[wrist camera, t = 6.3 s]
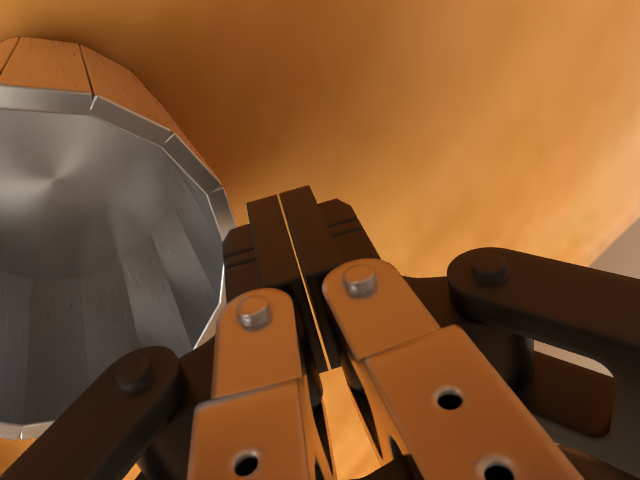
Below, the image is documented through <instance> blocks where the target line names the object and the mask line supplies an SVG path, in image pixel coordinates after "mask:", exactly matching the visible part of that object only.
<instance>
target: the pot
mask: <svg viewBox="0 0 640 480" xmlns="http://www.w3.org/2000/svg"><path fill="white" fill-rule="evenodd" d="M233 228H237V225H236V222H235V219H234V215H233V212H232V209H231V206H230V203H229V200H228V197H227V194H226V191H225V188H224V186H223V185H222V183H221V181H220V180H219V179H218V177H217V176H216V175H215V173H214V172H213V171H212V170H211V168H210V167H209V166H208V164H207V163H206V162H205V160H204V159H203V158H202V157H201V155H200V154H199V153H198V151H197V150H196V149H195V147H194V146H193V145H192V144H191V142H190V141H189V140H188V138H187V137H186V136H185V134H184V133H183V132H182V131H181V129H180V128H179V127H178V125H177V124H176V123H175V122H174V120H173V119H172V118H171V116H170V115H169V114H168V112H167V111H166V110H165V109H164V107H163V106H162V105H161V104H160V103H159V102H158V100H157V99H156V98H155V97H154V96H153V95H152V94H151V93H150V92H149V90H148V89H147V88H146V87H145V86H144V85H143V84H142V83H141V81H140V80H139V79H138V78H137V77H136V76H135V75H134V74H133V73H132V72H131V71H129V70H128V68H126V67H124V66H122V65H120V64H118V63H116V62H114V61H112V60H110V59H108V58H106V57H104V56H103V55H101V54H99V53H97V52H95V51H93V50H91V49H89V48H87V47H85V46H83V45H80V46H79V45H78V44H77V43H71V42H63V41H55V40H47V39H39V38H31V37H21V39H20V37H14V38H11V39H7V40H3V41H0V438H1V439H10V440H18V439H19V437H20V438H21V440H26V439H32V438H38V437H40V436H41V435H42V434H43V433H44V432H45V431H46V430H47V429H48V428H49V427H50V426H51V425H52V424H53V423H54V422H55V421H56V420H57V418H58V417H59V416H60V415H61V414H62V413H63V412H64V411H65V410H66V409H67V408H68V407H69V406H70V405H71V404H72V403H73V402H74V401H75V400H76V399H77V398H78V397H79V396H80V395H81V394H82V393H83V392H84V391H85V390H86V389H87V388H88V387H89V386H90V385H91V384H92V383H93V382H94V381H95V380H96V379H97V378H98V377H99V376H100V375H101V374H102V373H103V372H104V371H105V370H106V369H107V368H108V367H109V366H110V365H111V364H112V363H114V362H115V361H116V360H118V359H119V358H121V357H122V356H124V355H126V354H128V353H130V352H132V351H134V350H137V349H140V348H144V347H149V346H163V347H167V348H169V349H171V350H172V351H173V352H174V353H175V354H176V356H177V358H179V357H181V356H183V355H185V354H186V353H188V352H190V351H192V350H194V349H196V348H197V347H199V346H201V345H202V344H204V343H205V342H207V341H208V340H209V339H211V338H212V337H213V336H214V335H215V333H216V321H217V317H218V315H219V313H220V311H221V310H222V309H223V308H224V306H225V305H226V304H227V303H226V290H225V277H224V263H223V259H224V258H223V250H222V242H223V241H224V239H225V237H226V236H227V234H228V232H229V230H230V229H233Z"/></svg>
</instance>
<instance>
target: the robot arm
mask: <svg viewBox="0 0 640 480" xmlns="http://www.w3.org/2000/svg"><path fill="white" fill-rule="evenodd" d="M279 195H280V199H281V203H282V206H283V210H284V213H285V216H286V220H287V223H288V227H289V230H290V234H291V237H292V241H293V244H294V248H295V251H296V255H297V258H298V261H299V265H300V268H301V271H302V275H303V278H304V281H305V285H306V288H307V291H308V294H309V298H310V301H311V304H312V307H313V310H314V314H315V317H316V320H317V323H318V327H319V330H320V333H321V336H322V340H323V343H324V346H325V349H326V353H327V356H328V359H329V362H330V366H331V369H334V368H337V367H341V366H342V369H343V372H344V375H345V378H346V381H347V385H348V388H349V392H350V396H351V399H352V401H353V404H354V406H355V408H356V411H357V413H358V415H359V417H360V420H361V422H362V424H363V426H364V429H365V431H366V433H367V435H368V438H369V440H370V442H371V445H372V447H373V449H374V451H375V454H376V456H377V458H378V460H379V463H380V465H381V468H379V469H377V470H376V471H374V472H373V473H371V474H369V475H367V476H365V477H363V478H360V479H351V480H640V279H636V278H631V277H627V276H623V275H618V274H614V273H610V272H605V271H601V270H596V269H592V268H588V267H584V266H579V265H575V264H571V263H566V262H562V261H557V260H553V259H549V258H544V257H540V256H535V255H531V254H527V253H522V252H518V251H514V250H509V249H504V248H496V247H486V248H478V249H474V250H470V251H467V252H465V253H463V254H461V255H459V256H458V257H456V258H455V259H454V260H453V261H452V262H451V263H450V265H449V266H448V269H447V276H446V277H433V278H411V277H405V276H402V275H400V273H399V272H398V271H397V269H396V268H395V267H394V266H393V265H391V264H390V263H388V262H386V261H383V260H381V258H380V257H379V255H378V253H377V251H376V250H375V248H374V246H373V244H372V243H371V241H370V239H369V237H368V236H367V234H366V232H365V230H364V229H363V227H362V225H361V223H360V221H359V220H358V219H357V216H356V214H355V213H354V211H353V209H352V207H351V206H350V205H348V204H346V203H344V202H342V201H340V200H338V199H333V200H330V201H326V202H323V203H319V204H317V202H316V200H315V197H314V195H313V193H312V191H311V188H310V186H309V185H307V186H304V187H300V188H297V189H293V190H290V191H286V192H283V193H279ZM246 204H247V210H248V216H249V221H250V224H247V225H244V226H240V227H237V228H233V229H230V230H229V232H228V234H227V236H226V237H225V239H224V241H223V242H222V250H223V258H224V259H223V263H224V277H225V290H226V303H227V304H226V305H225V306H224V308H223V309H222V310H221V311H220V313H219V315H218V317H217V321H216V333H215V335H214V336H213V337H212V338H211V339H209V340H208V341H207V342H205V343H204V344H202V345H201V346H199V347H197V348H196V349H194V350H192V351H190V352H188V353H186V354H185V355H183V356H181V357H179V358H177V356H176V354H175V353H174V352H173V351H172V350H171V349H169V348H167V347H163V346H149V347H144V348H140V349H137V350H134V351H132V352H130V353H128V354H126V355H124V356H122V357H121V358H119V359H118V360H116V361H115V362H114V363H112V364H111V365H110V366H109V367H108V368H107V369H106V370H105V371H104V372H103V373H102V374H101V375H100V376H99V377H98V378H97V379H96V380H95V381H94V382H93V383H92V384H91V385H90V386H89V387H88V388H87V389H86V390H85V391H84V392H83V393H82V394H81V395H80V396H79V397H78V398H77V399H76V400H75V401H74V402H73V403H72V404H71V405H70V406H69V407H68V408H67V409H66V410H65V411H64V412H63V413H62V414H61V415H60V416H59V417H58V418H57V420H56V421H55V422H54V423H53V424H52V425H51V426H50V427H49V428H48V429H47V430H46V431H45V432H44V433H43V434H42V435H41V436H40V437H39V438H38V439H37V440H36V441H35V442H34V443H33V444H32V445H31V446H30V447H29V448H28V449H27V450H26V451H25V452H24V453H23V454H22V455H21V456H20V457H19V458H18V459H17V460H16V461H15V462H14V463H13V464H12V465H11V466H10V467H9V468H8V469H7V470H6V471H5V472H4V473H3V474H2V475H1V476H0V480H122V479H123V478H124V477H125V476H126V474H127V473H128V472H129V471H130V469H131V468H132V467H133V466H134V464H135V463H137V465H138V466H139V468H140V469H141V472H140V474H139V475H138V476H137V478H136V479H135V480H337V474H336V469H335V463H334V457H333V451H332V445H331V439H330V433H329V427H328V421H327V415H326V409H325V405H324V402H323V399H322V395H323V388H322V383H321V380H320V376H319V373H322V372H325V371H328V367H327V364H326V360H325V357H324V353H323V350H322V347H321V343H320V340H319V336H318V333H317V329H316V326H315V322H314V319H313V316H312V312H311V309H310V305H309V302H308V298H307V295H306V291H305V288H304V284H303V281H302V278H301V274H300V271H299V268H298V264H297V261H296V258H295V254H294V251H293V248H292V245H291V241H290V238H289V235H288V231H287V228H286V225H285V221H284V218H283V215H282V211H281V208H280V205H279V202H278V198H277V195H273V196H269V197H266V198H262V199H259V200H255V201H252V202H248V203H246ZM534 340H537V341H539V342H543V343H546V344H548V345H552V346H555V347H558V348H561V349H564V350H567V351H570V352H573V353H576V354H579V355H582V356H585V357H588V358H591V359H593V360H596V361H597V362H599V363H601V364H602V365H604V366H605V367H606V368H607V369H608V370H609V371H610V372H611V373H612V375H613V377H614V378H613V377H610V376H607V375H604V374H601V373H598V372H595V371H592V370H589V369H587V368H584V367H581V366H578V365H575V364H572V363H569V362H566V361H563V360H560V359H557V358H554V357H551V356H549V355H545V354H543V353H540V352H537V351H534ZM555 443H557V444H555ZM558 444H559V445H558Z"/></svg>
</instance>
